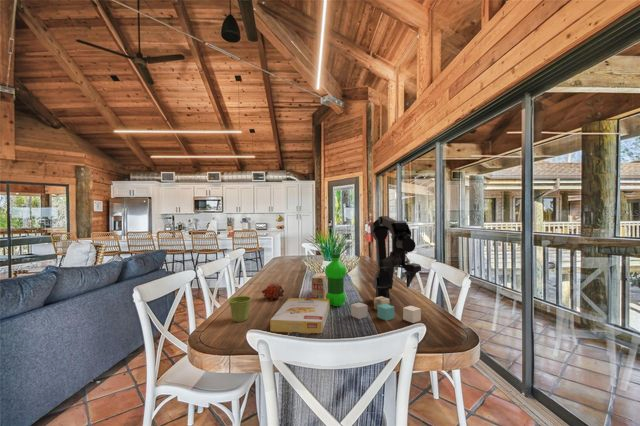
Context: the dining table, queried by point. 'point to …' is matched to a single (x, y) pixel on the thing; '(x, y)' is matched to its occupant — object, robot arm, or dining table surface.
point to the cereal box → (301, 315)
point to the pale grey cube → (359, 310)
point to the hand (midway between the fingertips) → (399, 285)
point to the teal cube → (385, 312)
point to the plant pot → (239, 308)
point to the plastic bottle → (335, 280)
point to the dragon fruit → (273, 291)
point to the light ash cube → (381, 301)
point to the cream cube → (412, 314)
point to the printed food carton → (319, 285)
